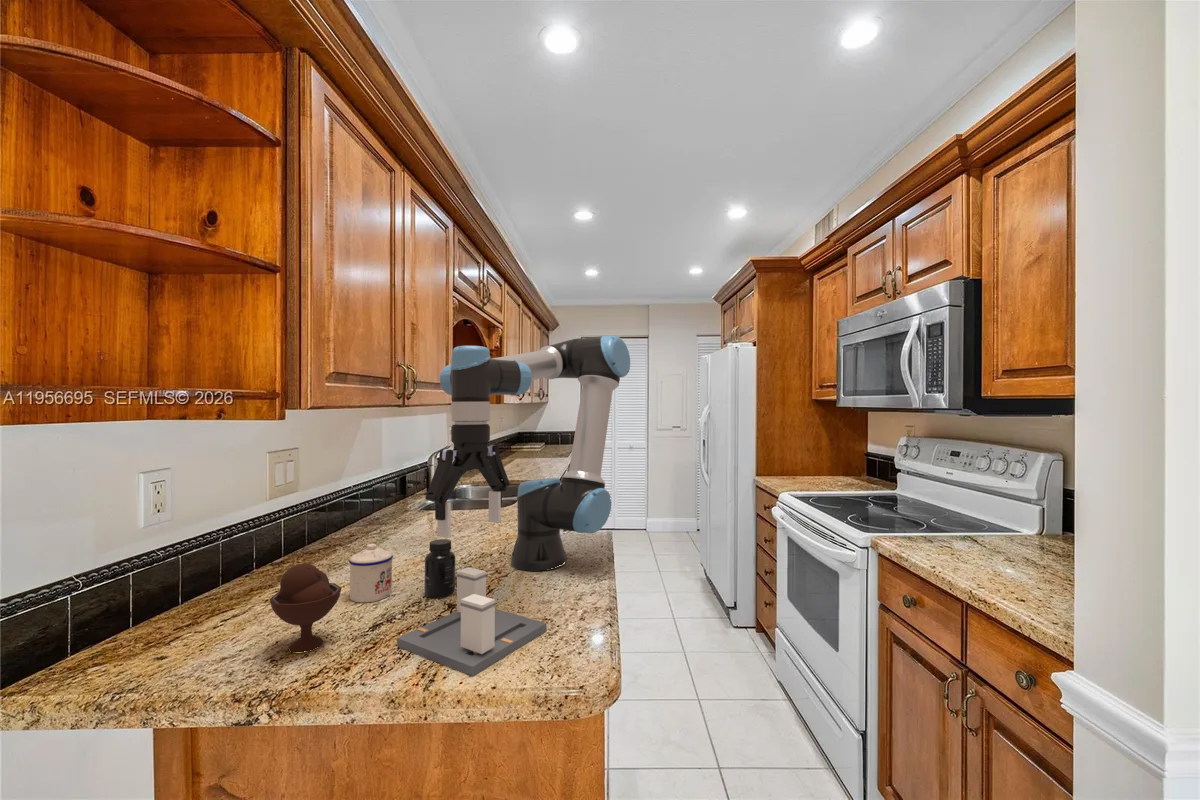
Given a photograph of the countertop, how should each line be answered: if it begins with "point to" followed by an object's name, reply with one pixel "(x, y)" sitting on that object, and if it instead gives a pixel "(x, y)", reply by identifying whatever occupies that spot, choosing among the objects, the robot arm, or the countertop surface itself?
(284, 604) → the ice cream bowl
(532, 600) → the countertop surface
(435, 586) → the supplement bottle
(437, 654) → the fader panel
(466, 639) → the block
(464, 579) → the block
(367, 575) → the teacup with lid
